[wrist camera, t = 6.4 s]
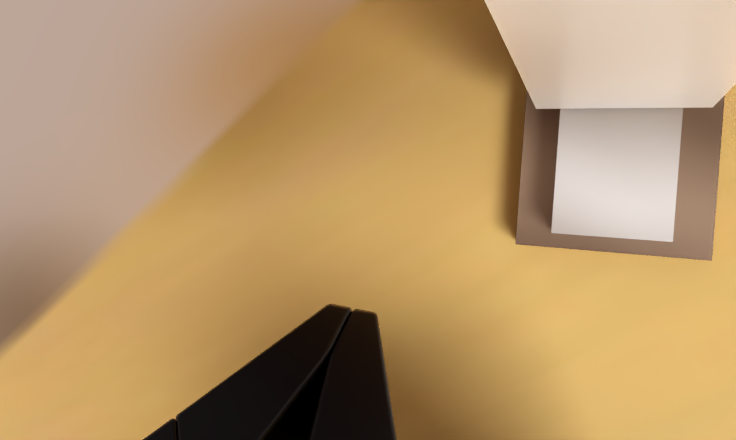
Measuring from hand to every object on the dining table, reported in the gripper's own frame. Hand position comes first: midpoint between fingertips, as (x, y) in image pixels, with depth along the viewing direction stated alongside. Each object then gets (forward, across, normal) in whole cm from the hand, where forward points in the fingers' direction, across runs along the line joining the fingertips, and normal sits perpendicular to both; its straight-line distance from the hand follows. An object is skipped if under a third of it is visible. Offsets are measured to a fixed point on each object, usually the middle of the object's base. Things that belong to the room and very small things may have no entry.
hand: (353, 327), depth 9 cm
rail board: (+13, -6, 0) cm, 14 cm away
